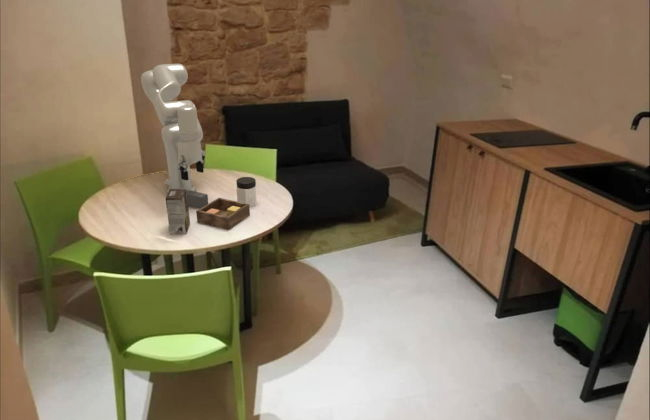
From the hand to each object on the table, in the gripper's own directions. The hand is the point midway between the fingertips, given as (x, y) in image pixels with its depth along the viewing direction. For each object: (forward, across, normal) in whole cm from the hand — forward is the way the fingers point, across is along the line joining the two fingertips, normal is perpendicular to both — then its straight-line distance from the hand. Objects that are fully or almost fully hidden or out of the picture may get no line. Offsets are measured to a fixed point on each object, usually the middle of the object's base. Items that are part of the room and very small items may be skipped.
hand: (192, 175), depth 204 cm
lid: (+15, 0, +1) cm, 15 cm away
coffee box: (+14, +21, +9) cm, 27 cm away
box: (+14, +6, +19) cm, 24 cm away
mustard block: (+13, +2, +22) cm, 26 cm away
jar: (+14, -11, +19) cm, 26 cm away
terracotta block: (+13, +8, +16) cm, 22 cm away
